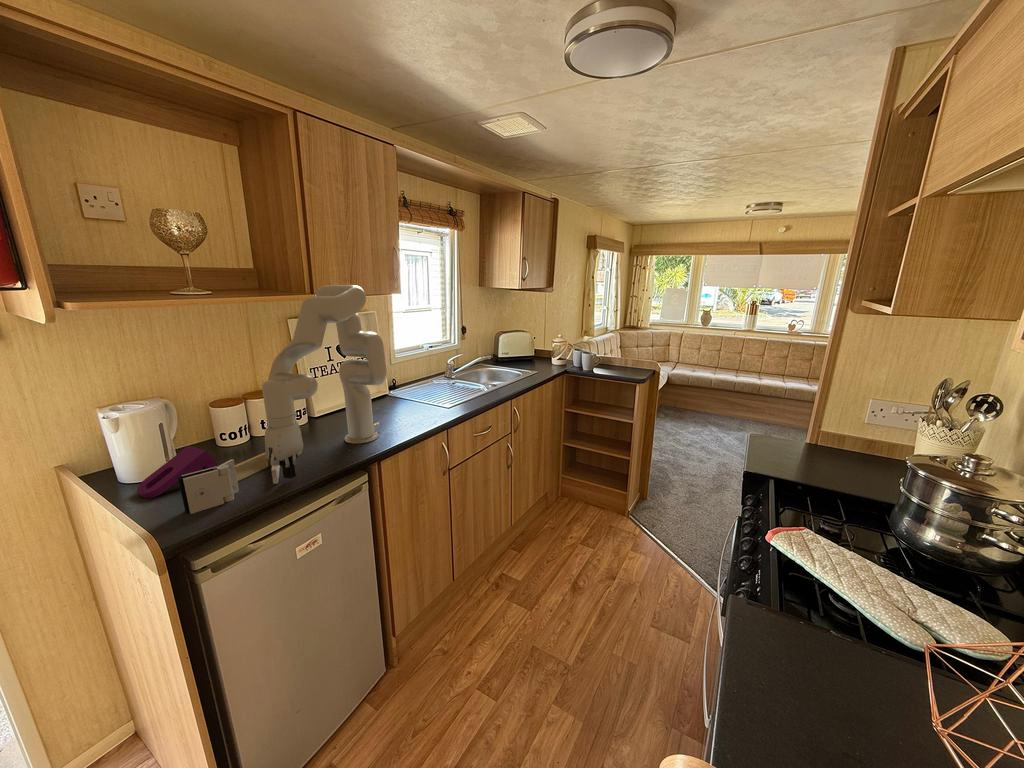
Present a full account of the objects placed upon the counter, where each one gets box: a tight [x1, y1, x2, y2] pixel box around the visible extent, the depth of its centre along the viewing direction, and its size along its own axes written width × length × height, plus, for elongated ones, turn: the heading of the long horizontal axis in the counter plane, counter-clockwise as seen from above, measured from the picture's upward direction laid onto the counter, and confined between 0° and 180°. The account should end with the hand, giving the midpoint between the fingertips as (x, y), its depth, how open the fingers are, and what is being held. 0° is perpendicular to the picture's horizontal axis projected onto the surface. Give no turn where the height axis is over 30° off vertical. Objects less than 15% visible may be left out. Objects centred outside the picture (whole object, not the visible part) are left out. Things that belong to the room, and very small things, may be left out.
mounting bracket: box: [136, 445, 218, 499], centre depth 125 cm, size 9×8×18 cm
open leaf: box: [271, 465, 281, 485], centre depth 130 cm, size 15×1×4 cm, turn 27°
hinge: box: [178, 459, 240, 515], centre depth 113 cm, size 14×5×10 cm, turn 149°
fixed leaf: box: [235, 452, 272, 482], centre depth 131 cm, size 18×3×5 cm, turn 162°
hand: (289, 477), depth 126 cm, fingers closed
